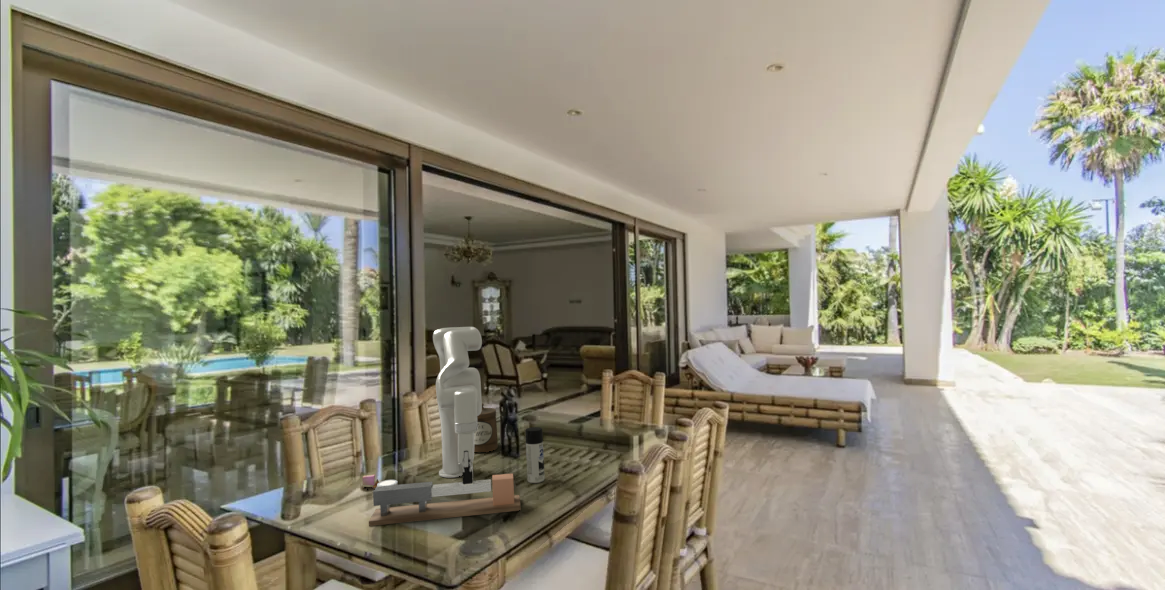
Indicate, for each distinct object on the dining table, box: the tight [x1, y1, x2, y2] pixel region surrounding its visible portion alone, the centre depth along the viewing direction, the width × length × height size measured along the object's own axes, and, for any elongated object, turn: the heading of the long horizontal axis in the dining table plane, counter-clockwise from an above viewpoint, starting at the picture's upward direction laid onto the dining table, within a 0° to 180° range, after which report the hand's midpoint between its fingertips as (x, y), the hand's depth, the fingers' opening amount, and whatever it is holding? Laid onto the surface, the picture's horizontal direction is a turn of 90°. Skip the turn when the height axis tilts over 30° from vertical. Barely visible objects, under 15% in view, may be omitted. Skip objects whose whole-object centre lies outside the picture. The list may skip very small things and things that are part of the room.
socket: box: [491, 472, 515, 506], centre depth 176 cm, size 5×7×8 cm
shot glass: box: [377, 479, 398, 506], centre depth 183 cm, size 7×7×7 cm
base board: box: [368, 494, 522, 527], centre depth 173 cm, size 10×48×2 cm, turn 99°
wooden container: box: [474, 402, 499, 453], centre depth 245 cm, size 15×15×22 cm
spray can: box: [524, 426, 546, 484], centre depth 200 cm, size 7×7×20 cm
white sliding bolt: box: [431, 462, 492, 498], centre depth 173 cm, size 4×27×9 cm, turn 99°
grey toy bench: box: [372, 481, 433, 516], centre depth 171 cm, size 5×18×8 cm, turn 99°
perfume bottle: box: [361, 474, 380, 490], centre depth 200 cm, size 12×12×4 cm
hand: (468, 480), depth 174 cm, fingers closed on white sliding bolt, 4 cm apart
